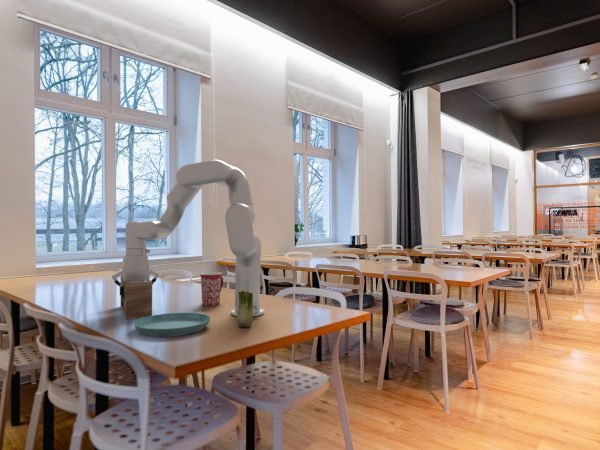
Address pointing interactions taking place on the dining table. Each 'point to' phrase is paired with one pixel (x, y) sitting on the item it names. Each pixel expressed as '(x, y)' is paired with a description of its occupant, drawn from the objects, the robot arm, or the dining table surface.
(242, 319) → the fennel bulb
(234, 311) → the robot arm
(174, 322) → the teal plate
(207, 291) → the mug
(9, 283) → the dining table surface
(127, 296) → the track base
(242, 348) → the dining table surface
